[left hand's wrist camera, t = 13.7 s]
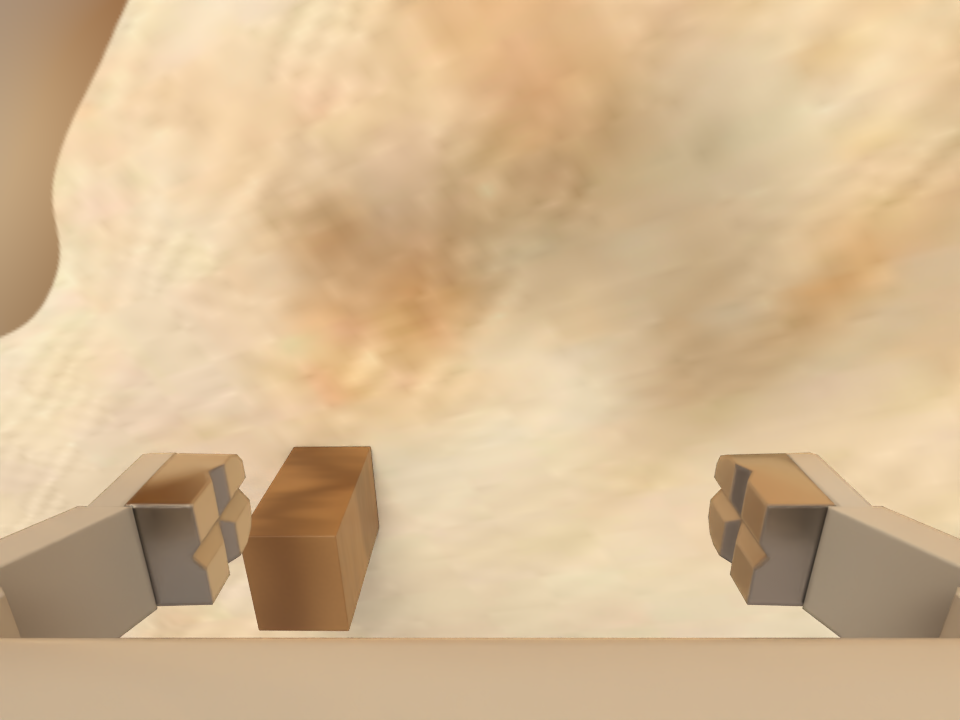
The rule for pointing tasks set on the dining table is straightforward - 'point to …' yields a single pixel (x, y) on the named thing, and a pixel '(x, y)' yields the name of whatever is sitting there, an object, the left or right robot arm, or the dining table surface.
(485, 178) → the dining table surface
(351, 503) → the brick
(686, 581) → the dining table surface
